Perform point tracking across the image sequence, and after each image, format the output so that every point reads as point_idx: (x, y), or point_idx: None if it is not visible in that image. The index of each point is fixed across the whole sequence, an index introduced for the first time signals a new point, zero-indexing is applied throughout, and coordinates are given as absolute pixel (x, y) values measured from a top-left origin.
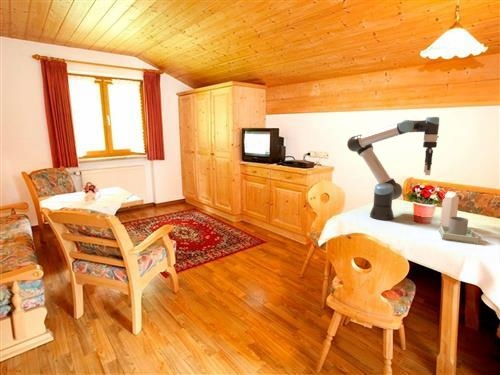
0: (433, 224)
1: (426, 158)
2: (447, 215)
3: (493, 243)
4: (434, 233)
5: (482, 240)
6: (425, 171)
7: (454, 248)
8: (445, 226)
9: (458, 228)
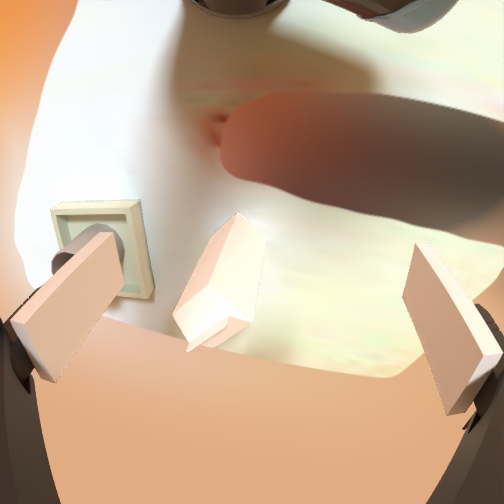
0: (222, 186)
1: (454, 486)
2: (206, 252)
3: (112, 315)
4: (102, 182)
5: (119, 299)
6: (416, 270)
7: (23, 224)
8: (127, 225)
9: (67, 258)
